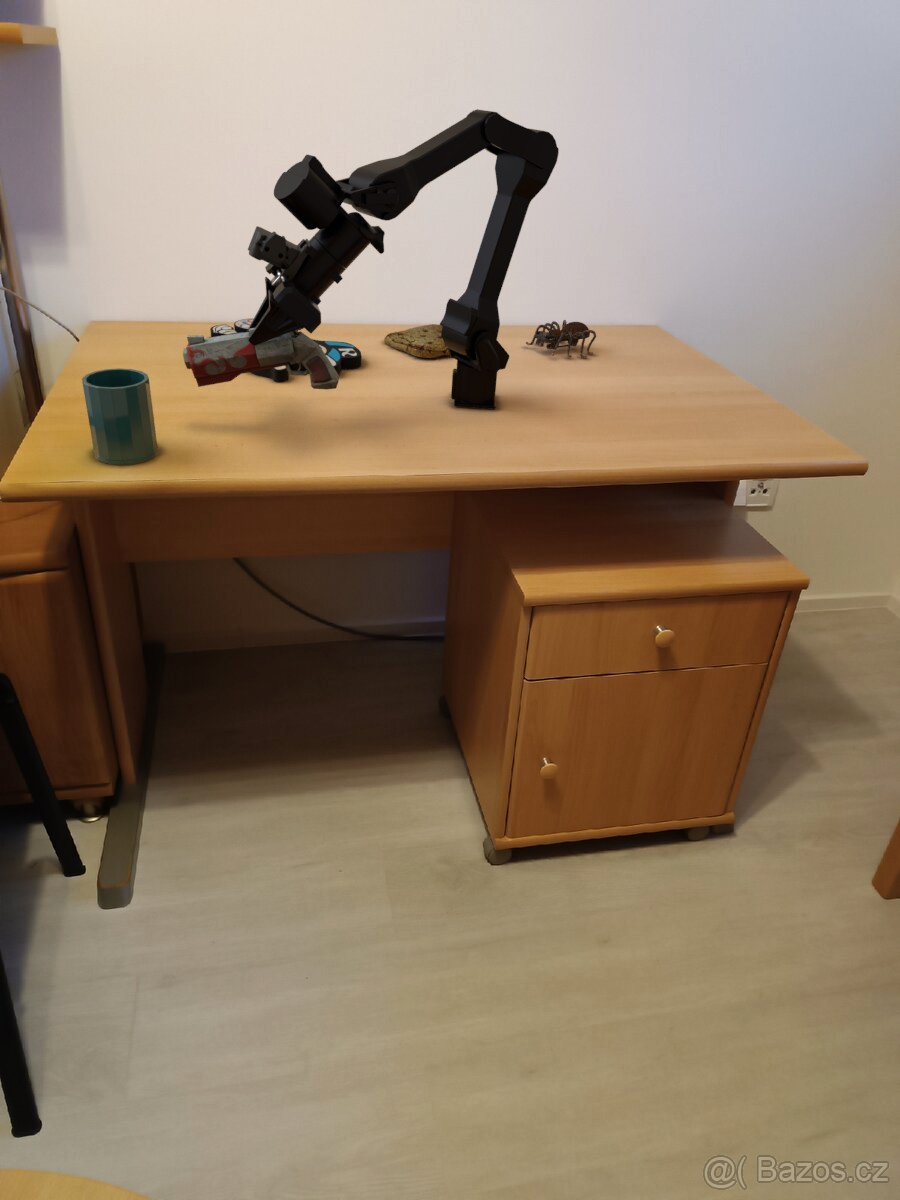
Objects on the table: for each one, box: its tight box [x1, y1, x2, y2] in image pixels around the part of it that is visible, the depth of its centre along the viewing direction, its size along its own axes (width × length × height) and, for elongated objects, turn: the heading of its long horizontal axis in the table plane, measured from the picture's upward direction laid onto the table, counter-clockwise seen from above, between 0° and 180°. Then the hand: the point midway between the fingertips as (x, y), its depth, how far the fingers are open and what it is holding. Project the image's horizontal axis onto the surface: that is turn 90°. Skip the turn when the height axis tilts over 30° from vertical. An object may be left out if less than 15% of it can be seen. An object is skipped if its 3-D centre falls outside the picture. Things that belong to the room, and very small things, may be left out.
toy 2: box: [525, 319, 597, 359], centre depth 166 cm, size 12×12×5 cm
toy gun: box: [182, 328, 340, 390], centre depth 120 cm, size 4×20×10 cm, turn 95°
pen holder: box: [81, 367, 159, 466], centre depth 112 cm, size 8×8×10 cm
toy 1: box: [209, 318, 362, 383], centre depth 154 cm, size 28×2×30 cm
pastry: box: [384, 323, 450, 359], centre depth 163 cm, size 17×17×3 cm
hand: (250, 338), depth 118 cm, fingers closed on toy gun, 3 cm apart
